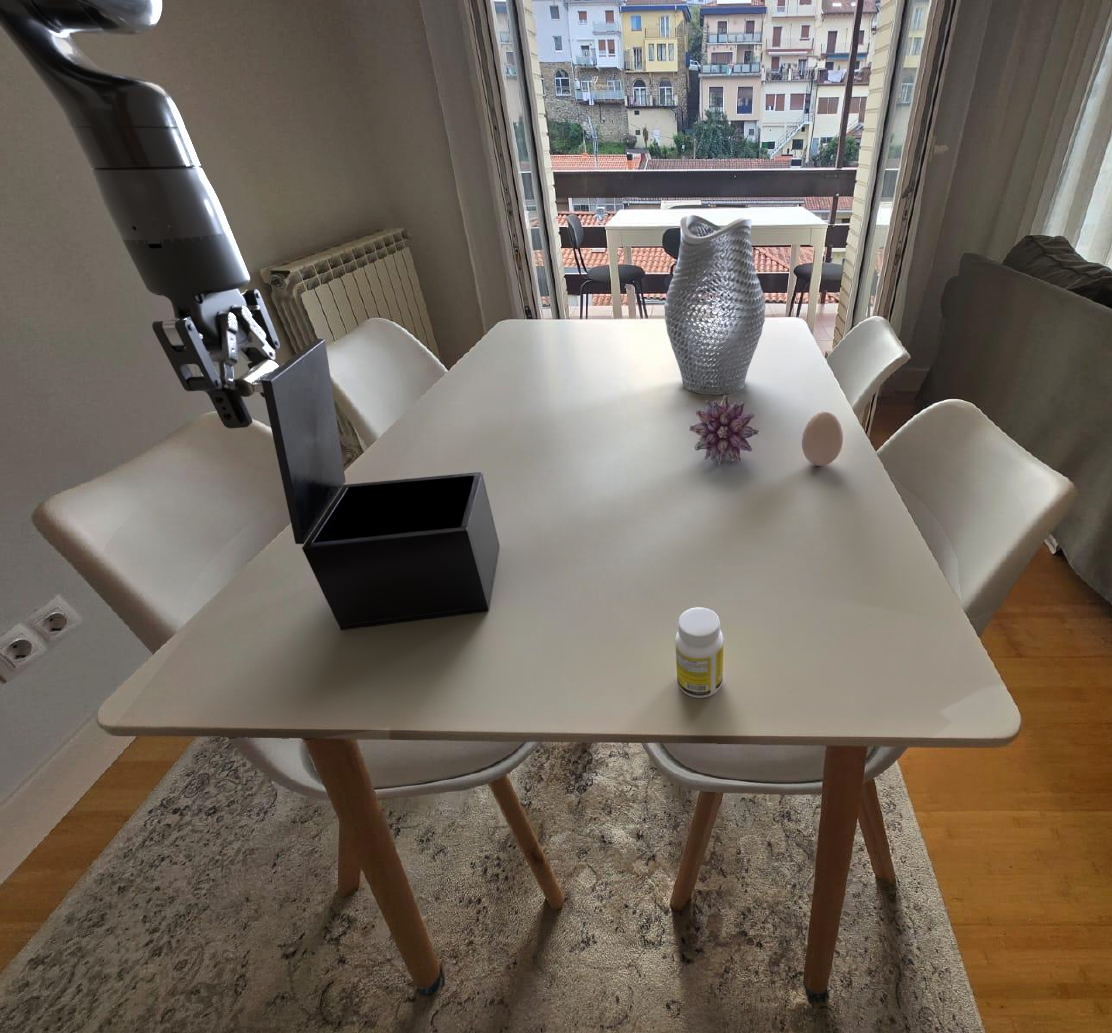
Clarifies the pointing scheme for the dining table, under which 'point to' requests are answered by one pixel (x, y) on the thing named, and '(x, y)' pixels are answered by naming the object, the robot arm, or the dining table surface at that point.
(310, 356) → the box lid
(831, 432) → the egg
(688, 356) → the vase
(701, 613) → the supplement bottle
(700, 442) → the flower
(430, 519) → the black box
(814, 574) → the dining table surface
